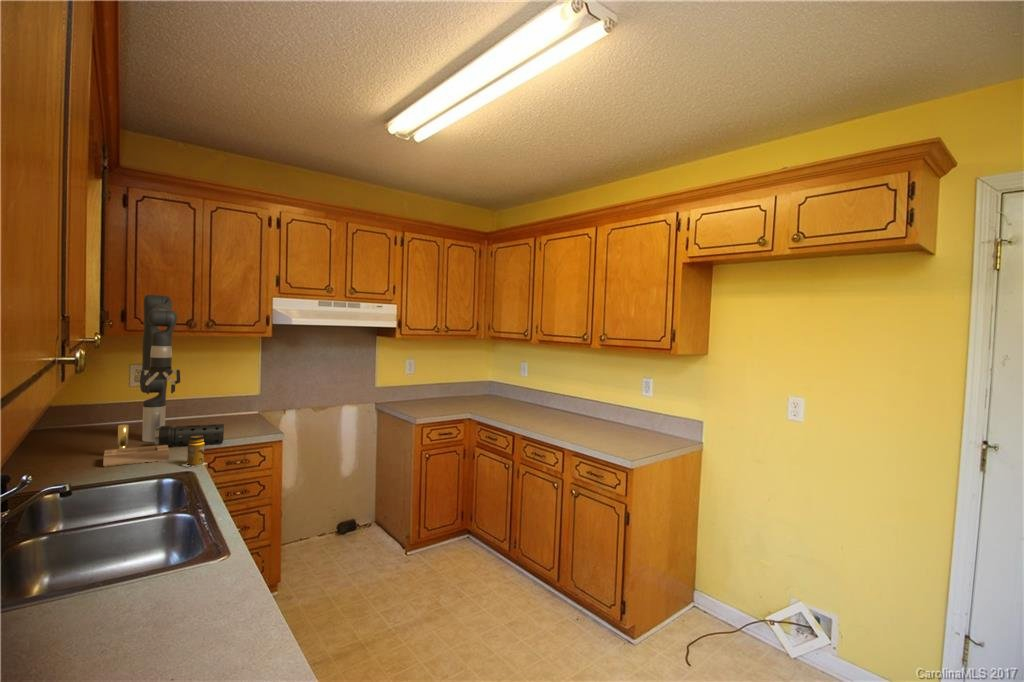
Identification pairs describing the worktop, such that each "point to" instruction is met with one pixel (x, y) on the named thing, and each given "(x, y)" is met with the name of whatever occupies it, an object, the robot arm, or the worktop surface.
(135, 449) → the keyhole board
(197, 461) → the condiment
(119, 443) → the brass peg
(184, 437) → the muzzle brake
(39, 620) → the worktop surface
